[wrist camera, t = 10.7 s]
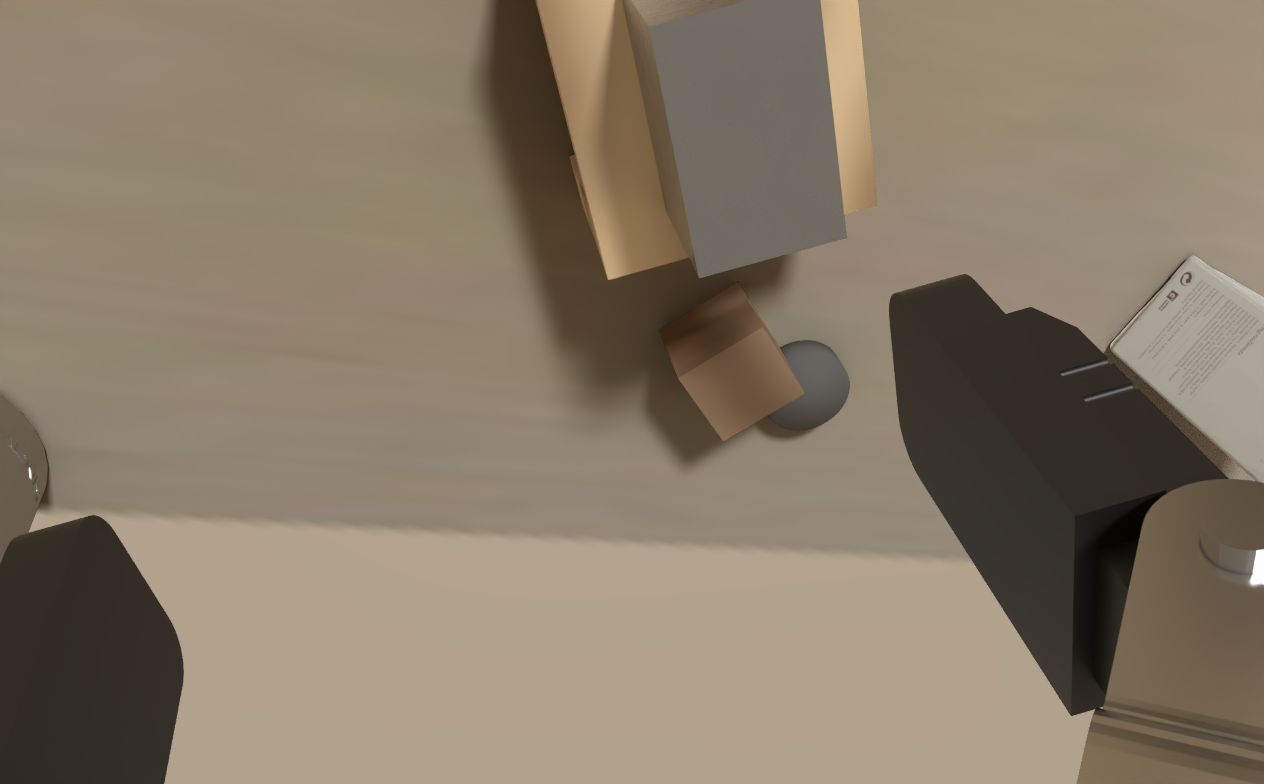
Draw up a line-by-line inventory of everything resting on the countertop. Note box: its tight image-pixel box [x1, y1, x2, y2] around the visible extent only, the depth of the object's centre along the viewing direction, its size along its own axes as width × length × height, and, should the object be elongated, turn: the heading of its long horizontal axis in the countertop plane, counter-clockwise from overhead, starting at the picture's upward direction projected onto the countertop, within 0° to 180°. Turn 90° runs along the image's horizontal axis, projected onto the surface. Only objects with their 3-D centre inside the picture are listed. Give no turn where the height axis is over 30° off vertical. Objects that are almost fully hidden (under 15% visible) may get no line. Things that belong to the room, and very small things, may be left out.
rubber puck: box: [768, 340, 850, 430], centre depth 52 cm, size 4×4×2 cm
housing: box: [622, 0, 847, 278], centre depth 36 cm, size 8×5×5 cm, turn 12°
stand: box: [536, 0, 877, 280], centre depth 40 cm, size 10×12×6 cm
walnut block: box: [659, 282, 805, 441], centre depth 49 cm, size 4×4×4 cm
